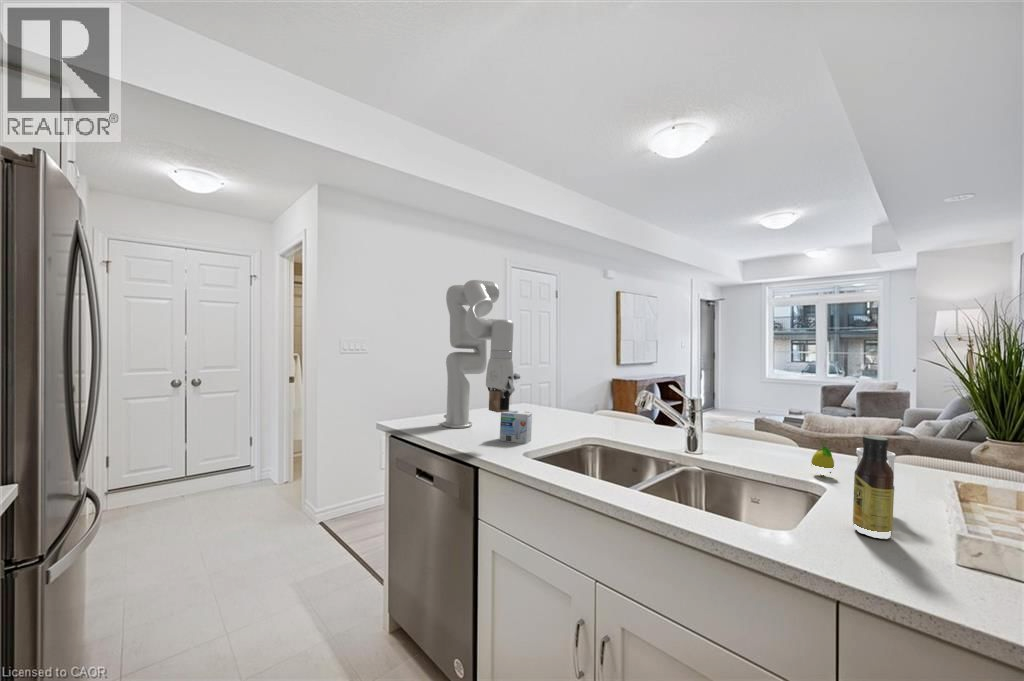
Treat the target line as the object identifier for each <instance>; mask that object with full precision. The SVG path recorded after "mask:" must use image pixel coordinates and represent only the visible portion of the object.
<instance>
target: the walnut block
mask: <svg viewBox="0 0 1024 681" xmlns="http://www.w3.org/2000/svg"><path fill="white" fill-rule="evenodd" d="M504 392H505V393H506V391H504ZM488 396H489V397H488V411H491V412H494V413H501V412H508V411H509V410H510V403H509V404H508V410H500V399H501V398H502V395H501V390H500V389H496V390H495V389H494V390H489V391H488ZM510 398H511V397H510ZM510 398H509V401H510Z"/></svg>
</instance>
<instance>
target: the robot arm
mask: <svg viewBox="0 0 1024 681" xmlns="http://www.w3.org/2000/svg"><path fill="white" fill-rule="evenodd" d="M446 290H447V291H446V294H445V295H446V296H445V297H446V298H445V300H446V308H447V310H448V314H449V343H450V347H452V348H454V349H460V350H462V349H463V350H465V349H466V350H473V351H453V352H450V353H449V354H448V355H447V356H446V358H445V360H446V361H445V365H446V372H447V385H446V386H447V387H446V388H447V390H446V392H447V393H446V394H447V395H446V413H445V414H444V415H443V418H444V419H445V420H444V421H443V422H442V426H443V427H446V428H450V429H462V428H463V429H464V428H466V429H467V428H470V427H472V426H473V423H472V422H471V421H469V420H470V419H469V418H470V396H471V394H470V389H471V387H470V386H471V385H470V382H469V380H468V378H467V377H466V376H465V375H480V374H483V373H485V371H486V376H485V387H486V388H487V390H488V392H489V390H496V389H500V390H501V395H502V398H501V399H500V410H508V404H509V405H510V400H509V398H511V396H512V395H513V393H514V392H515V391H516V388H515V386H514V364H513V363H514V362H513V348H514V322H513V321H512V320H510V319H499V318H498V319H496V318H495V319H493V318H483V317H485V316H487V315H488V314H490V313H491V311H492V309H493V306H494V303H496V302H497V301H498V299H499V297H500V288H499V286H498V285H497V283H496V282H494V281H488V280H480V279H479V280H478V279H471V280H469V281H467V282H465V283H464V284H455V285H450V286H449V287H448V288H447V289H446ZM464 306H467V307H468V306H469V307H468V309H466V307H464ZM487 341H490V355H489V356H490V357H489V359H487V346H488V344H487ZM487 360H488V361H487ZM504 391H506V393H505V392H504Z"/></svg>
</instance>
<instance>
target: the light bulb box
mask: <svg viewBox="0 0 1024 681" xmlns="http://www.w3.org/2000/svg"><path fill="white" fill-rule="evenodd" d="M532 420H533V412H532V411H525V410H523V411H522V410H513V409H512V410H511V409H509V411H508V412H500V425H499V427H500V429H499V441H500V442H508V443H509V442H510V443H515V444H516V443H517V444H524V445H525V444H526V445H527V444H528V443H529V442H531V441H532V427H533V421H532Z"/></svg>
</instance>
